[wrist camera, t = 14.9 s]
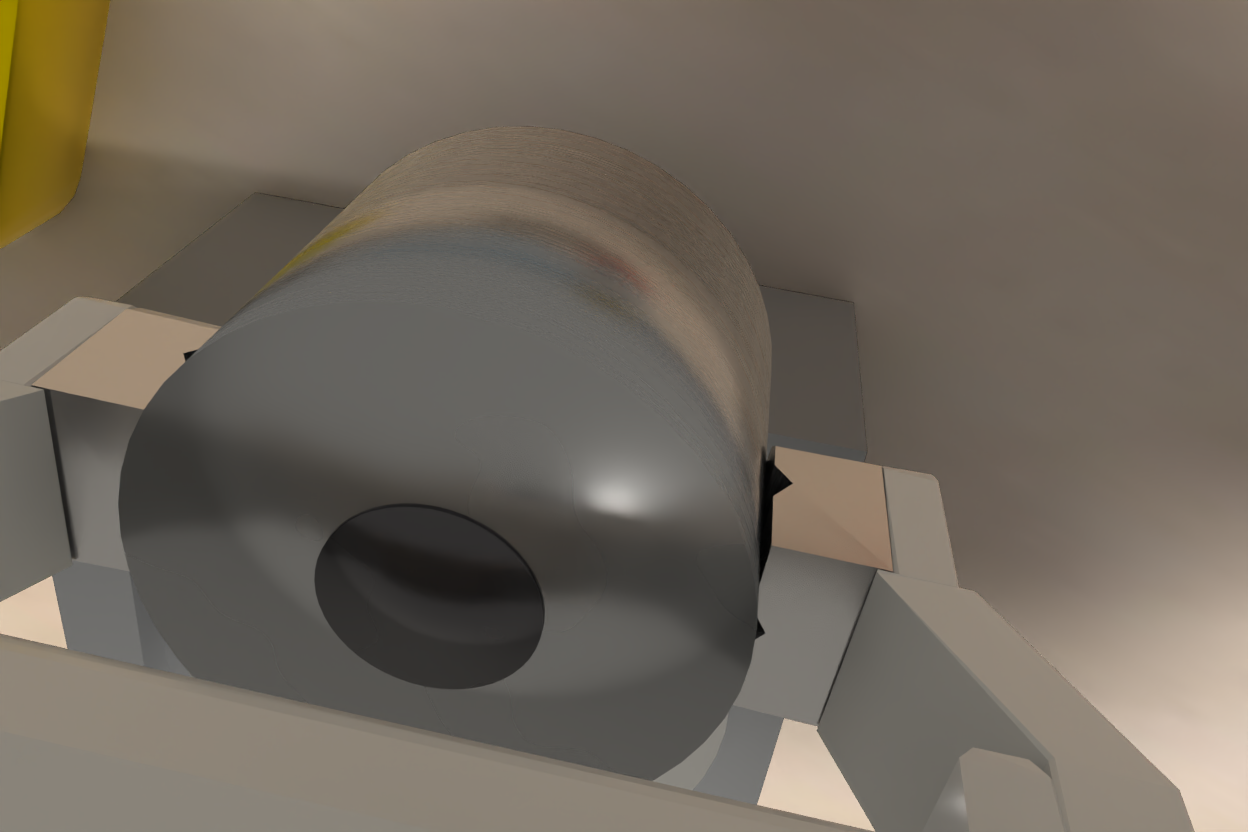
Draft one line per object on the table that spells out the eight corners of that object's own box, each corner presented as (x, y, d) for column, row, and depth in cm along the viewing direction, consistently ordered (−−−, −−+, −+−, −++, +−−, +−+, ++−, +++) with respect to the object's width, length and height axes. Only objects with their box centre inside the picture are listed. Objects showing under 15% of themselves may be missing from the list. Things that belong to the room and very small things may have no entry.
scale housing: (853, 302, 27) (869, 479, 21) (747, 682, 35) (734, 903, 28) (172, 177, 28) (-27, 307, 21) (212, 573, 36) (74, 762, 29)
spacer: (820, 175, 10) (828, 387, 7) (725, 573, 13) (695, 871, 9) (312, 85, 10) (67, 245, 7) (324, 494, 13) (151, 754, 10)
